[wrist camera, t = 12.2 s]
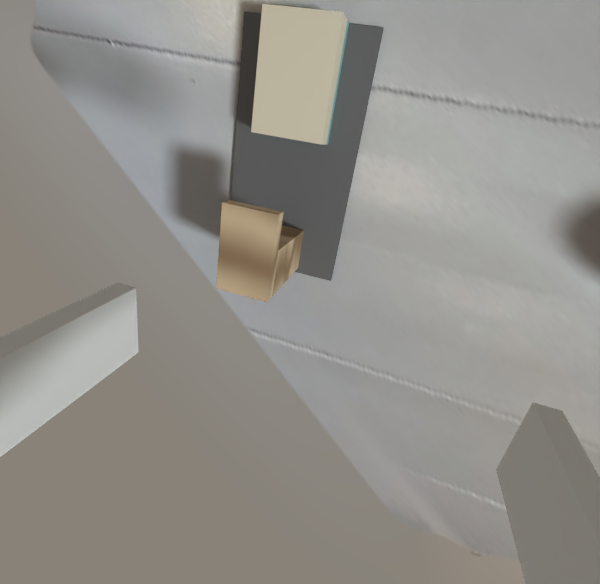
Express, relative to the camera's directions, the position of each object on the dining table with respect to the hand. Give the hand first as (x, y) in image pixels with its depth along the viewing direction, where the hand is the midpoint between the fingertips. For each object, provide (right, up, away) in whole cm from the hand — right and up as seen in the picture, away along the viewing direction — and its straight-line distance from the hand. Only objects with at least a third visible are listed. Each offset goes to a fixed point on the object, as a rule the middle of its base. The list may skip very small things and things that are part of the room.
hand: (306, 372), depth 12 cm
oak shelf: (-2, +9, +29) cm, 31 cm away
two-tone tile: (-1, +22, +20) cm, 29 cm away
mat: (-1, +17, +26) cm, 31 cm away
